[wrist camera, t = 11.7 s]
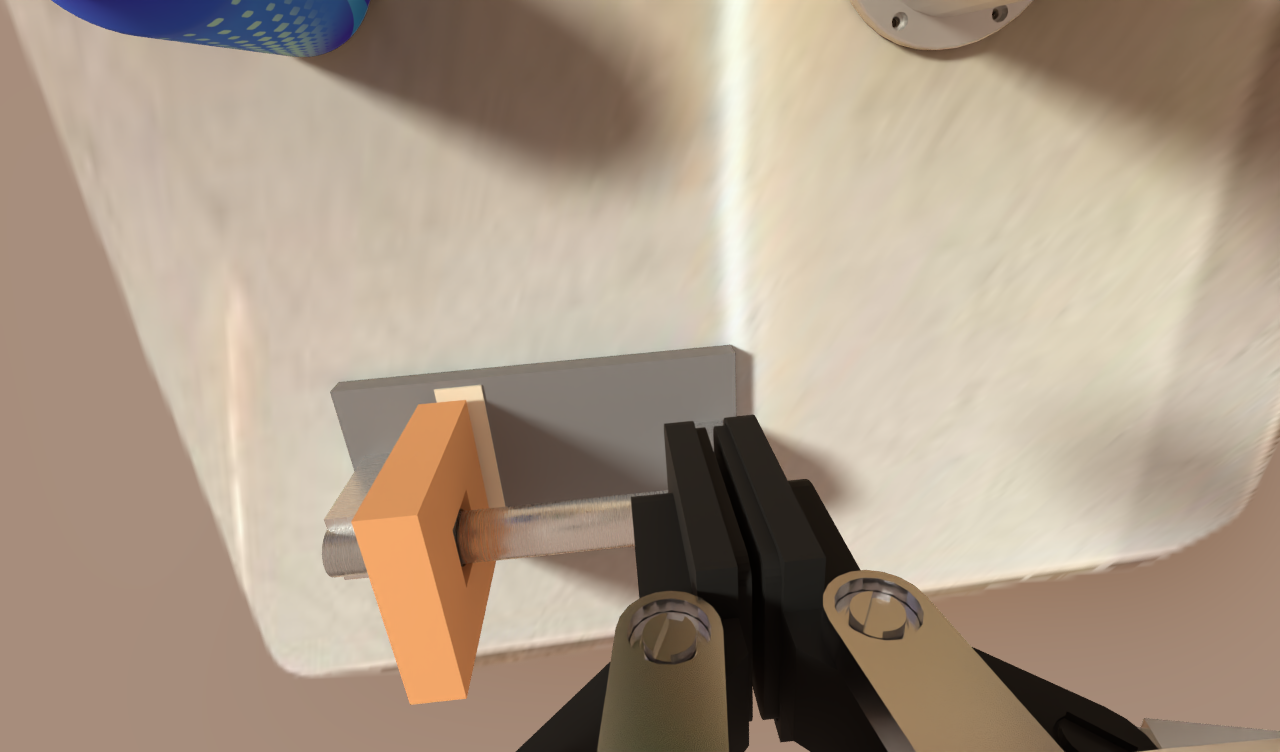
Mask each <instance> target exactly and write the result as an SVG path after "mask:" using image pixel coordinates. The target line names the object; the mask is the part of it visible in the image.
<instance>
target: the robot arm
mask: <svg viewBox="0 0 1280 752" xmlns="http://www.w3.org/2000/svg"><path fill="white" fill-rule="evenodd" d="M1033 1H1034V0H850V2H851V4H852V5H853V6H854V8H855V9H856V10H857V12H858V13H859V15H860V16H861V17H862V19H863V20H864V21H865V22H866V23H867V24H868V25H869V26H870V27H872V28H873V29H874V30H875V31H876V32H877V33H878V34H880V35H881V36H883V37H885V38H887V39H889V40H890V41H892V42H894V43H896V44H898V45H902V46H905V47H909V48H913V49H917V50H943V49H950V48H957V47H961V46H964V45H968V44H971V43H974V42H978V41H980V40H982V39H984V38H986V37H988V36H989V35H991V34H993V33H995V32H997V31H999V30H1000V29H1002V28H1003V27H1004V26H1006V25H1007V24H1009V23H1010V22H1011V21H1013V20H1014V19H1015V18H1017V17H1018V16H1019V15H1020V14H1021V13H1022V12H1023V11H1024V10H1025V9H1026V8H1027V7H1028V6H1029V5H1030V4H1031V3H1032V2H1033ZM993 11H994V17H993V19H992V12H993ZM893 18H895V19H896V21H897V24H896V26H895V27H894V28H893V27H892V19H893ZM664 440H665V454H666V469H667V483H668V493H664V494H654V495H644V496H634V497H631V507H632V519H633V530H634V541H635V552H636V564H637V575H638V586H639V598H640V599H638V600H637V601H635V602H634V603H632V604H631V605H629V606H628V607H627V609H626V610H625V611H624V612H623V614H622V615H621V616H620V618H619V621H618V624H617V627H616V630H615V636H614V643H613V650H612V657H611V662H609V664H607V665H606V666H605V667H604V668H603V669H602V670H601V671H600V672H599V673H598V674H597V675H596V676H595V677H594V678H593V679H592V680H591V681H590V682H588V683H587V685H585V686H584V687H583V688H582V689H581V690H580V691H579V692H578V693H577V694H576V695H575V696H574V697H573V698H572V699H571V700H570V701H568V703H567V704H565V705H564V706H563V707H562V708H561V709H560V710H559V711H558V712H557V713H556V714H555V715H554V716H553V717H552V718H551V719H550V720H549V721H547V723H545V724H544V725H543V726H542V727H541V728H540V729H539V730H538V731H537V732H536V733H535V734H534V735H533V736H532V737H531V738H530V739H529V740H528V741H527V742H525V743H524V744H523V745H522V746H521V747H520V748H519V749H518V750H517V751H516V752H744V751H745V750H746V749H747V747H748V746H749V721H752V717H753V713H752V712H753V709H752V708H753V706H752V705H753V701H752V700H753V699H752V698H753V697H752V686H753V690H754V693H755V697H756V701H757V705H758V708H759V712H760V715H761V718H762V719H763V720H766V719H774V721H775V725H776V728H777V732H778V735H779V738H780V742H787V741H795V742H796V743H798V744H799V745H801V746H803V747H804V748H806V749H807V750H809V751H810V752H1280V731H1273V730H1262V729H1252V728H1242V727H1232V726H1231V727H1230V726H1221V725H1211V724H1201V723H1189V722H1180V721H1168V720H1159V719H1149V718H1144V719H1143V722H1142V725H1141V727H1136V726H1135V725H1133V724H1132V723H1131V722H1129V721H1128V720H1127V719H1125V718H1124V717H1122V716H1120V715H1118V714H1117V713H1115V712H1113V711H1111V710H1109V709H1108V708H1106V707H1104V706H1102V705H1099V704H1097V703H1095V702H1093V701H1091V700H1088V699H1086V698H1084V697H1082V696H1080V695H1077V694H1075V693H1073V692H1070V691H1068V690H1066V689H1064V688H1062V687H1060V686H1057V685H1055V684H1053V683H1051V682H1049V681H1046V680H1044V679H1042V678H1040V677H1037V676H1035V675H1033V674H1031V673H1029V672H1026V671H1024V670H1022V669H1019V668H1017V667H1015V666H1013V665H1011V664H1008V663H1006V662H1004V661H1002V660H1000V659H998V658H995V657H993V656H991V655H989V654H987V653H984V652H982V651H980V650H978V649H975V648H973V647H971V646H970V645H969V644H968V643H967V641H966V640H965V639H964V638H963V637H962V636H961V635H960V633H958V631H957V630H956V629H955V628H954V627H953V626H952V625H951V623H950V622H949V621H948V620H947V619H946V618H945V617H944V615H943V614H942V613H941V612H940V611H939V610H938V609H937V608H936V606H935V605H934V604H933V603H932V602H931V601H930V600H929V598H928V597H927V596H926V595H925V594H924V593H922V592H921V591H920V590H919V589H918V588H917V587H915V586H914V585H913V584H911V583H909V582H907V581H905V580H904V579H902V578H900V577H897V576H894V575H891V574H888V573H885V572H879V571H870V570H860V568H859V567H858V565H857V563H856V561H855V560H854V558H853V556H852V554H851V552H850V551H849V549H848V547H847V545H846V543H845V542H844V540H843V538H842V536H841V535H840V533H839V531H838V529H837V527H836V526H835V524H834V522H833V520H832V518H831V517H830V515H829V513H828V511H827V510H826V508H825V506H824V504H823V502H822V501H821V499H820V497H819V495H818V493H817V492H816V490H815V488H814V486H813V485H812V483H811V482H810V481H809V480H807V479H801V480H791V481H787V479H786V477H785V475H784V473H783V471H782V469H781V467H780V465H779V463H778V461H777V459H776V457H775V455H774V453H773V451H772V449H771V447H770V445H769V443H768V441H767V439H766V437H765V435H764V433H763V431H762V429H761V427H760V425H759V423H758V421H757V419H756V417H755V415H746V416H736V417H726V418H724V420H723V426H714V428H713V442H714V451H713V448H712V445H711V442H710V439H709V436H708V433H707V430H706V428H705V427H703V428H695V424H694V422H693V421H685V422H675V423H665V424H664Z"/></svg>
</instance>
